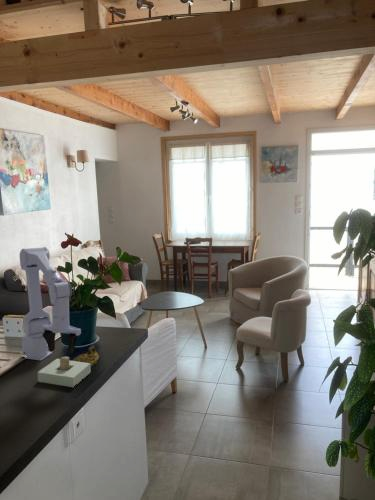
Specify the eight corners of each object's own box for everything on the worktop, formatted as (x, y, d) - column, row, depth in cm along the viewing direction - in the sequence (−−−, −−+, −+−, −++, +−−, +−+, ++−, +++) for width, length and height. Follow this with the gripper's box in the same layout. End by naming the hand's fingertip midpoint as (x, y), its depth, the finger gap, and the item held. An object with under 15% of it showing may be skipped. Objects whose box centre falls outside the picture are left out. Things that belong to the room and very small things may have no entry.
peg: (63, 374, 146) (62, 356, 145) (71, 375, 145) (70, 357, 144) (58, 378, 143) (58, 359, 142) (67, 379, 142) (66, 360, 141)
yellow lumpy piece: (88, 373, 150) (104, 357, 164) (89, 362, 149) (105, 346, 164) (65, 368, 151) (83, 352, 166) (66, 356, 150) (84, 341, 165)
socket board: (37, 381, 140) (37, 372, 139) (57, 367, 151) (57, 358, 151) (73, 387, 136) (73, 377, 136) (90, 372, 148) (90, 363, 147)
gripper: (35, 316, 139) (37, 353, 141) (73, 321, 135) (74, 358, 137) (47, 310, 145) (48, 346, 147) (83, 314, 142) (84, 351, 144)
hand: (61, 351), depth 143 cm, fingers open, 7 cm apart
